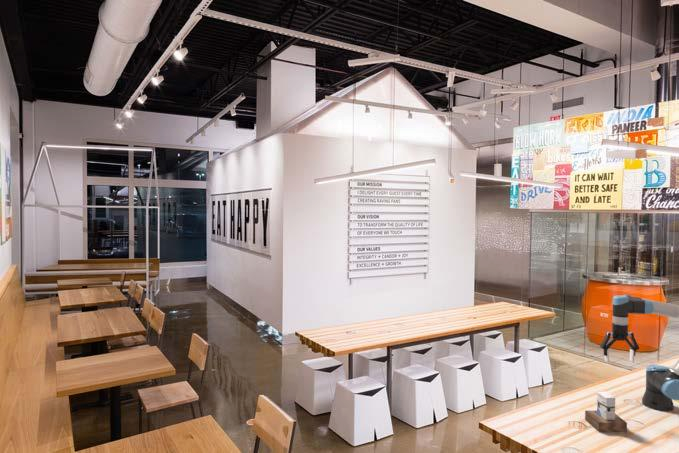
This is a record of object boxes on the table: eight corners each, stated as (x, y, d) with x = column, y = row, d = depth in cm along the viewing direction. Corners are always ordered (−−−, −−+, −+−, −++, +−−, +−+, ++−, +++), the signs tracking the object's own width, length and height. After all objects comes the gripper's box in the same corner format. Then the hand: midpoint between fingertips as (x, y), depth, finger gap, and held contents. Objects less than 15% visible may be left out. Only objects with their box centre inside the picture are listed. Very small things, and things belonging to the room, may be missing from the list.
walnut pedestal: (611, 420, 248) (611, 410, 248) (626, 432, 234) (627, 422, 234) (585, 419, 249) (585, 410, 248) (598, 432, 235) (598, 422, 234)
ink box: (596, 413, 245) (596, 391, 245) (605, 412, 245) (605, 391, 245) (605, 420, 237) (606, 397, 236) (615, 420, 237) (615, 397, 237)
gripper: (638, 322, 259) (637, 359, 260) (593, 321, 260) (592, 358, 261) (647, 325, 252) (646, 364, 253) (600, 325, 253) (599, 363, 253)
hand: (619, 361), depth 257 cm, fingers open, 13 cm apart
